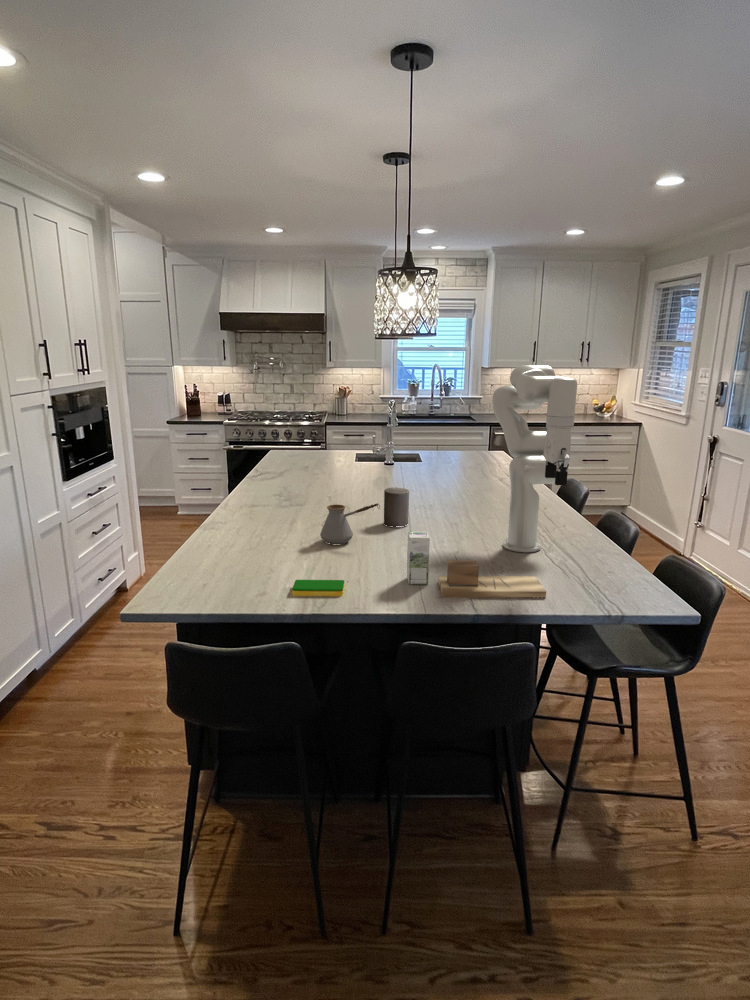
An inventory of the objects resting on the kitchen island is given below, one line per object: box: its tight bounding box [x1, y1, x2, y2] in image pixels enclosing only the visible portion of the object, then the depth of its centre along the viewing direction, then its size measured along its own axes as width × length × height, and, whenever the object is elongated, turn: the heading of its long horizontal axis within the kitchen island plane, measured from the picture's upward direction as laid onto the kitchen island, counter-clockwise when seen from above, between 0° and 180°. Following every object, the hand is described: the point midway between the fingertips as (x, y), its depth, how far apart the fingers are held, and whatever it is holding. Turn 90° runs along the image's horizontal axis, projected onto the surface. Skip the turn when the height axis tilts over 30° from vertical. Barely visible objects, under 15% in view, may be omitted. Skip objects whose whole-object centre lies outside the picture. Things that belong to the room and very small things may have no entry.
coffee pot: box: [319, 503, 381, 545], centre depth 199 cm, size 21×12×15 cm, turn 76°
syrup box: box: [406, 531, 431, 586], centre depth 165 cm, size 6×6×14 cm
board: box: [437, 575, 547, 599], centre depth 161 cm, size 11×28×2 cm, turn 90°
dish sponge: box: [291, 579, 345, 597], centre depth 160 cm, size 7×14×2 cm, turn 89°
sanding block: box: [446, 559, 480, 587], centre depth 160 cm, size 4×8×6 cm, turn 90°
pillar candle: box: [383, 486, 410, 527], centre depth 222 cm, size 10×10×15 cm
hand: (555, 481), depth 167 cm, fingers open, 9 cm apart
